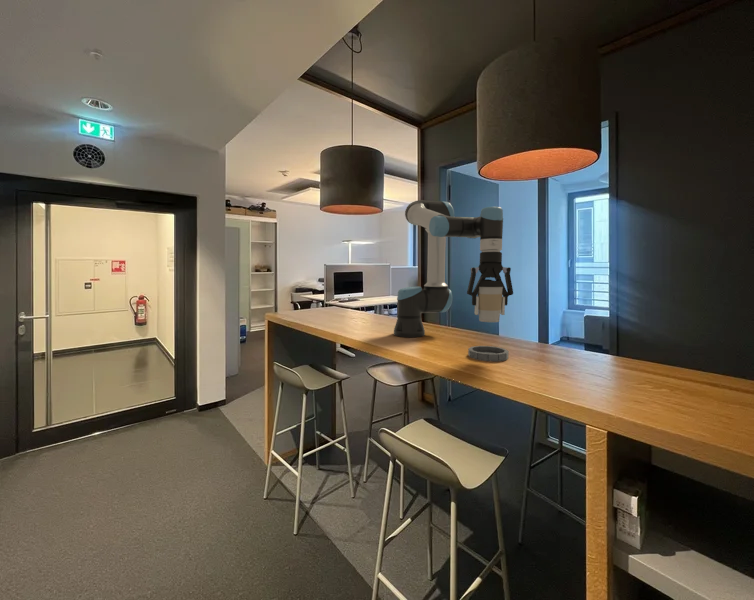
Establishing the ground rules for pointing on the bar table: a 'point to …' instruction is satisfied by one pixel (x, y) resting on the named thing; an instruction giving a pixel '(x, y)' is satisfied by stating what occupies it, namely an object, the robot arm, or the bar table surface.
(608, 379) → the bar table surface
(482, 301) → the coffee cup
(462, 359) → the bar table surface
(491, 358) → the tray
